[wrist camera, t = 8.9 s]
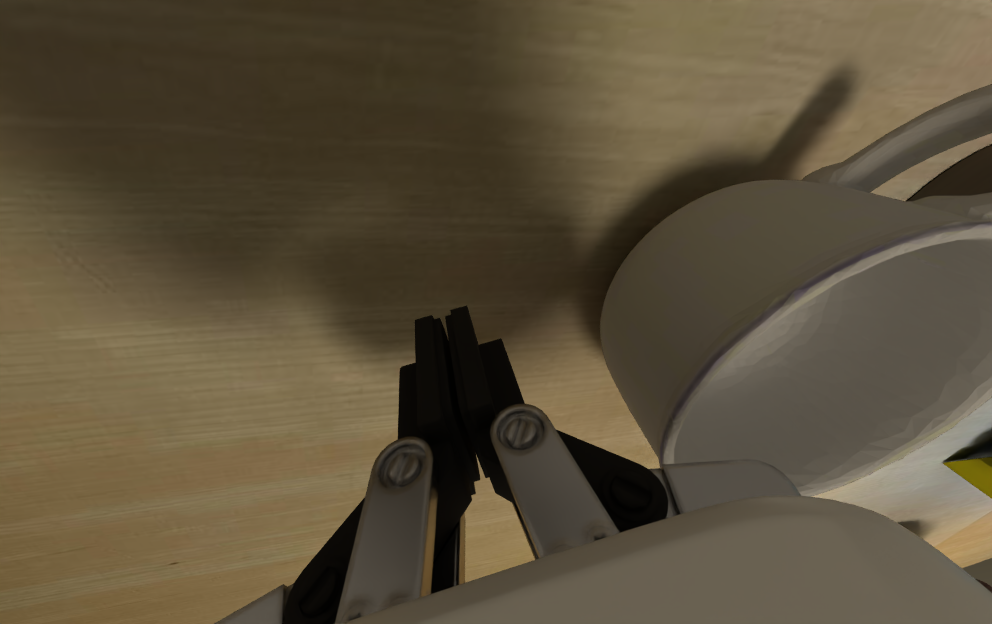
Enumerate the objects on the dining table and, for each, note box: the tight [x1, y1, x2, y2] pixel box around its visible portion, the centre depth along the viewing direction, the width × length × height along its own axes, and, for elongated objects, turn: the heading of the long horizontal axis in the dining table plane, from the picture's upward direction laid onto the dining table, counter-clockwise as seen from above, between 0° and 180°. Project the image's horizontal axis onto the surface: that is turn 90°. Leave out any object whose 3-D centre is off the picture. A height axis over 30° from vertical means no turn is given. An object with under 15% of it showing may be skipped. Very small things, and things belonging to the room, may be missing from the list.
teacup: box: [600, 84, 992, 497], centre depth 12 cm, size 14×11×8 cm
